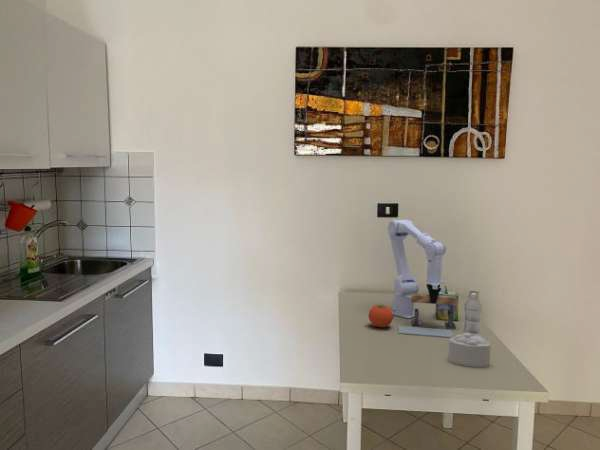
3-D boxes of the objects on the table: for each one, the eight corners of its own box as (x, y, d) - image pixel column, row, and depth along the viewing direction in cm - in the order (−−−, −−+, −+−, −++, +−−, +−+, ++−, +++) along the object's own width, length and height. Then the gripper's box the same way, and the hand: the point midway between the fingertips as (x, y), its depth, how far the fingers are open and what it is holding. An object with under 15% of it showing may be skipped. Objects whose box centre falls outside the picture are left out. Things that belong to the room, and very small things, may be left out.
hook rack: (411, 325, 203) (412, 312, 203) (411, 321, 210) (411, 308, 209) (455, 329, 200) (456, 315, 199) (454, 324, 206) (454, 311, 205)
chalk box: (457, 321, 211) (459, 288, 210) (436, 319, 213) (437, 287, 211) (455, 315, 220) (457, 284, 219) (434, 314, 222) (436, 282, 220)
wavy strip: (411, 302, 202) (411, 295, 202) (411, 300, 205) (411, 293, 205) (455, 305, 199) (456, 298, 198) (454, 303, 202) (455, 296, 201)
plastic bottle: (479, 341, 185) (482, 291, 183) (480, 347, 178) (483, 294, 176) (462, 339, 187) (464, 289, 185) (462, 345, 180) (464, 293, 178)
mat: (398, 333, 192) (398, 332, 192) (398, 327, 201) (398, 325, 201) (452, 338, 188) (452, 336, 188) (450, 331, 197) (450, 329, 197)
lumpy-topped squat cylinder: (491, 367, 160) (493, 342, 159) (452, 365, 160) (453, 340, 160) (481, 355, 170) (483, 332, 169) (444, 354, 171) (446, 330, 170)
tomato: (397, 327, 201) (398, 303, 200) (383, 332, 194) (384, 308, 193) (377, 321, 208) (377, 299, 207) (363, 326, 201) (364, 303, 200)
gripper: (446, 274, 193) (444, 307, 194) (442, 268, 207) (441, 298, 208) (428, 273, 194) (426, 306, 195) (425, 267, 208) (424, 297, 209)
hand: (432, 302), depth 202 cm, fingers closed on wavy strip, 3 cm apart
